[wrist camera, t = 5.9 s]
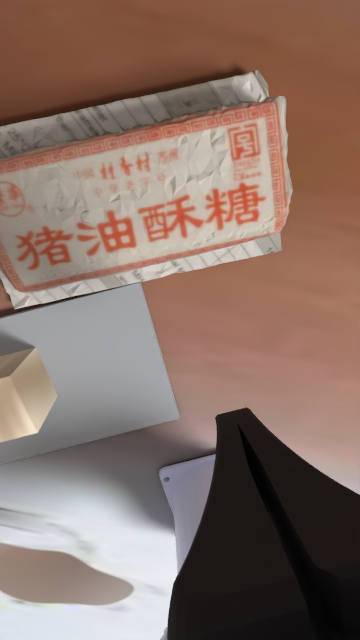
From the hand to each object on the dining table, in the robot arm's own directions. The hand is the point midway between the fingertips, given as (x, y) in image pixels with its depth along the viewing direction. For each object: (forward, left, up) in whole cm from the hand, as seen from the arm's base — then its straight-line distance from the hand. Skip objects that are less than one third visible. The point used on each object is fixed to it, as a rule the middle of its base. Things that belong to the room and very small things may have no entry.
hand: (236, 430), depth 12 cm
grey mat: (-1, +14, -10) cm, 17 cm away
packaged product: (+10, +2, -11) cm, 15 cm away
